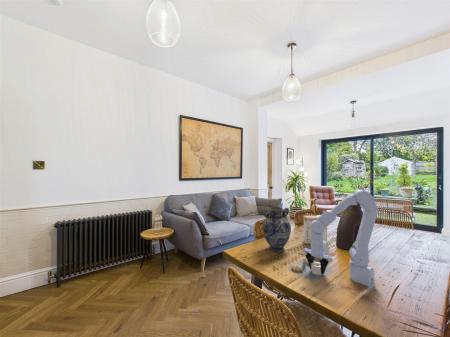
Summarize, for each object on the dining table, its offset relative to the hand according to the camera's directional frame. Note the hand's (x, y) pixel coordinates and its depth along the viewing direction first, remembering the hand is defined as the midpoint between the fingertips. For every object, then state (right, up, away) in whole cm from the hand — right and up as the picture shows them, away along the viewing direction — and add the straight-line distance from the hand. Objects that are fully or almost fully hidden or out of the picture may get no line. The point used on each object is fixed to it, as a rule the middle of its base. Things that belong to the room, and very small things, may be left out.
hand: (317, 271), depth 104 cm
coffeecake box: (+20, -3, +47) cm, 51 cm away
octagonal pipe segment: (0, -1, 0) cm, 1 cm away
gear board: (-2, -2, +3) cm, 5 cm away
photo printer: (+10, -3, +19) cm, 22 cm away
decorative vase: (-12, -3, +34) cm, 36 cm away
